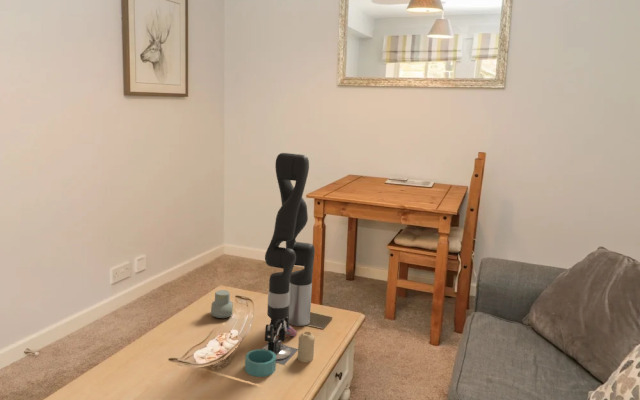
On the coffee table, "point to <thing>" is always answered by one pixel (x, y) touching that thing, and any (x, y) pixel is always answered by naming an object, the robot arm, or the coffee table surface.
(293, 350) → the mat
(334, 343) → the coffee table surface
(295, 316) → the robot arm
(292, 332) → the purple rounded lump
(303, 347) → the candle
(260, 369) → the bowl
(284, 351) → the lid
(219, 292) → the air freshener
